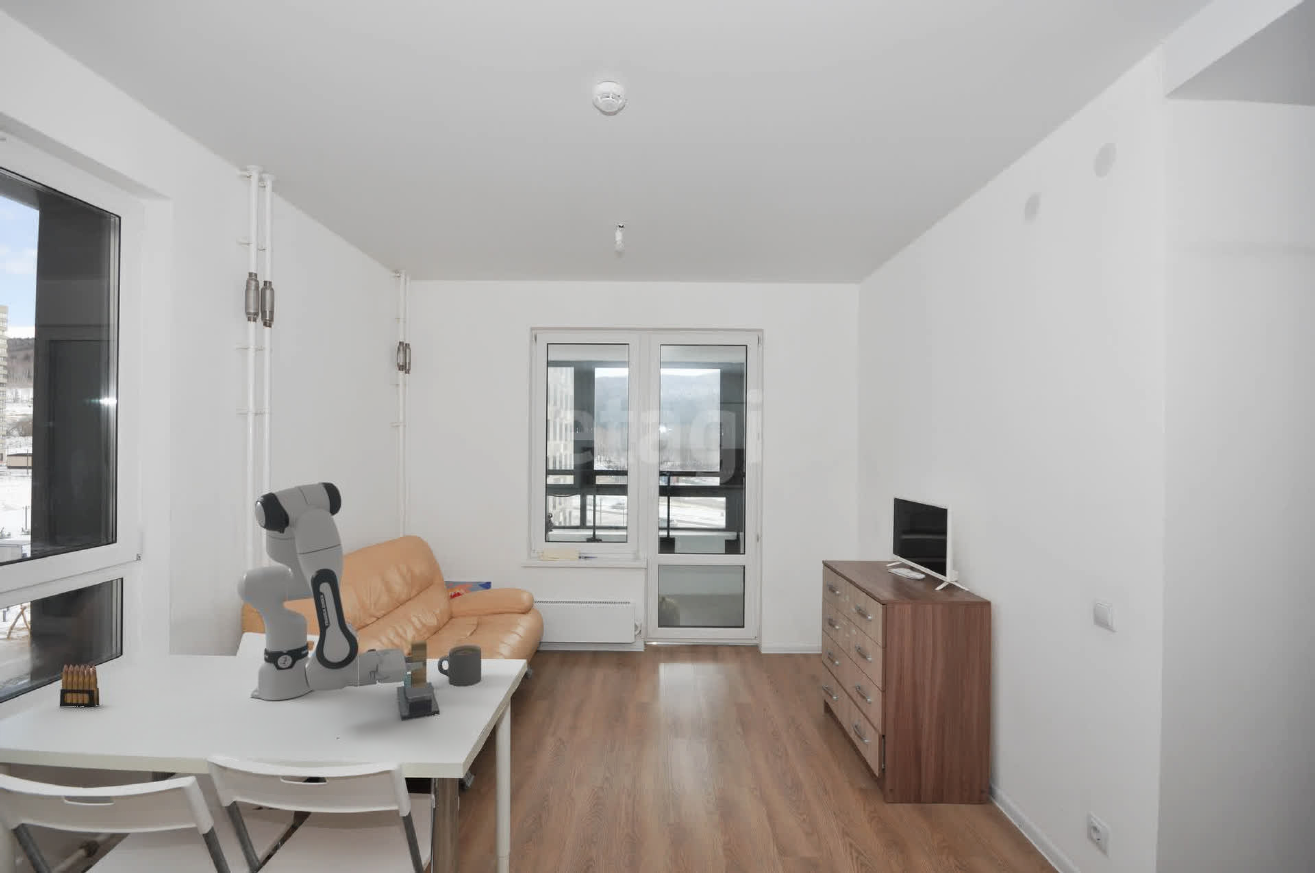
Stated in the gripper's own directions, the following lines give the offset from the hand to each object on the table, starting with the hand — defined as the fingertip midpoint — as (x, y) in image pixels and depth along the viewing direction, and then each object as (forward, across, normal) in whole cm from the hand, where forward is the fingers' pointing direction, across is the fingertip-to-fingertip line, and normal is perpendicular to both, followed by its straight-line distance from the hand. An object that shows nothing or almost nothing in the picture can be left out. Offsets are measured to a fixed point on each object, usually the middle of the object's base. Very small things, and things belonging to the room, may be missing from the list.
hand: (421, 661), depth 192 cm
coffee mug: (+13, +18, +13) cm, 26 cm away
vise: (-1, +5, +13) cm, 14 cm away
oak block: (-1, 0, +6) cm, 7 cm away
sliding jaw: (-1, +12, +12) cm, 16 cm away
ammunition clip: (-91, +43, +13) cm, 101 cm away
